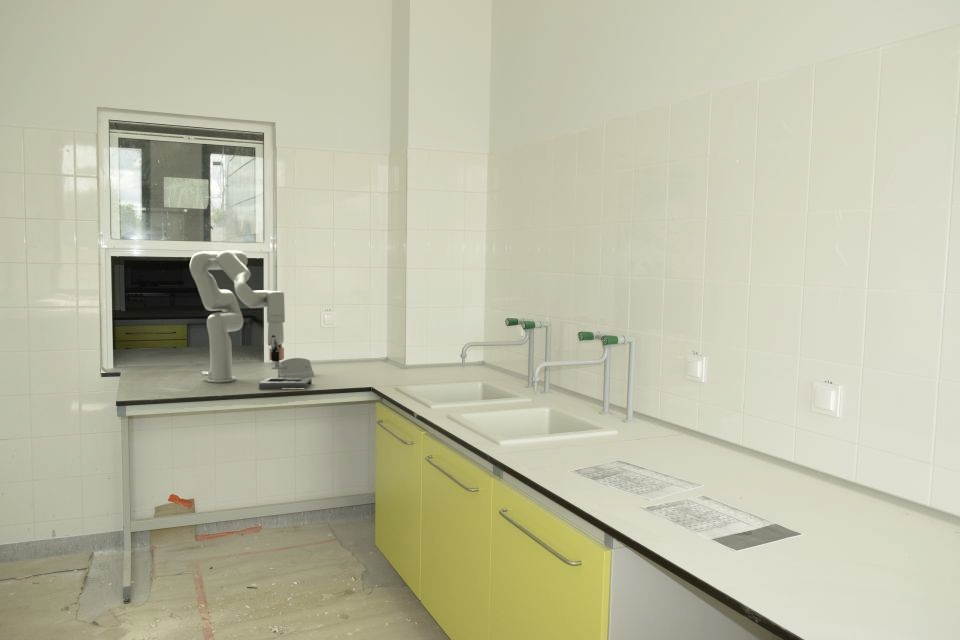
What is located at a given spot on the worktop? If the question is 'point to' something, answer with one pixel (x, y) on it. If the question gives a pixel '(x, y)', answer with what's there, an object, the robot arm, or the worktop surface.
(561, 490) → the worktop surface
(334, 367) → the worktop surface
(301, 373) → the grey arched block
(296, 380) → the keyhole plate
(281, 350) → the t peg
